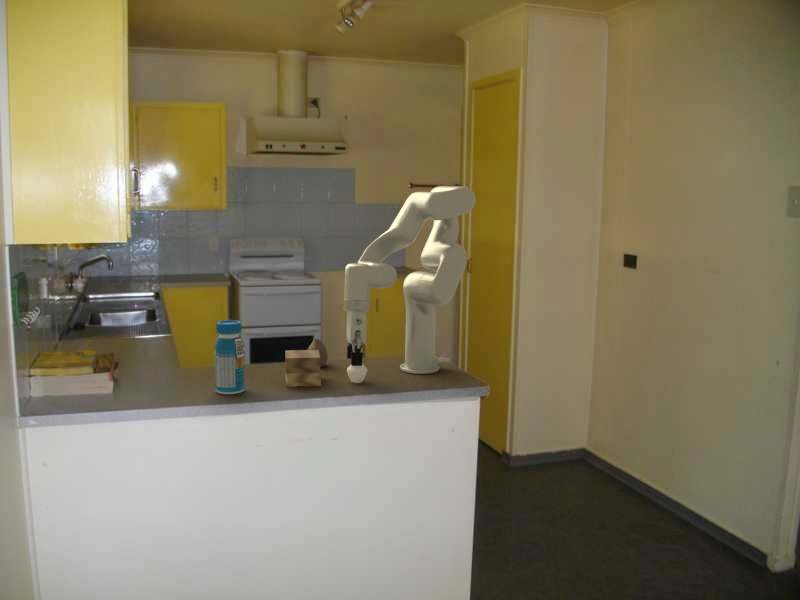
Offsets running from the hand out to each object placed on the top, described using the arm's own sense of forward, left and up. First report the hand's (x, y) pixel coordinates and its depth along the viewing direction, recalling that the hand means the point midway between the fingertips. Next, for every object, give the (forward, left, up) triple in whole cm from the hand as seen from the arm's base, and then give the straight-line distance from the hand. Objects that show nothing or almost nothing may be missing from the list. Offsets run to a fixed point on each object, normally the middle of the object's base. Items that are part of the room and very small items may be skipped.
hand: (354, 362), depth 226 cm
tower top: (+15, -2, -2) cm, 15 cm away
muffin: (-1, 0, -6) cm, 7 cm away
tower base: (+15, -3, -7) cm, 17 cm away
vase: (+9, -21, -7) cm, 24 cm away
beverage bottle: (+36, +5, -6) cm, 37 cm away
